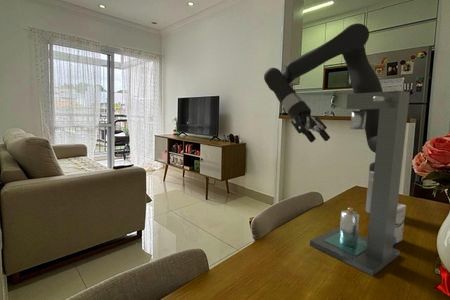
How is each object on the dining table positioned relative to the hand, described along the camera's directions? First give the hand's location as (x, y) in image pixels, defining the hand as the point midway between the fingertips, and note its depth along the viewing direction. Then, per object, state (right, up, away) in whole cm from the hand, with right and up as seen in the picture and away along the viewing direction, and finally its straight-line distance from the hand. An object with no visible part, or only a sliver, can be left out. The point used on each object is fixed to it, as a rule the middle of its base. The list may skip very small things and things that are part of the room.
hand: (321, 140), depth 86 cm
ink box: (+18, -32, -8) cm, 38 cm away
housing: (+3, -31, -13) cm, 34 cm away
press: (+3, -33, -14) cm, 36 cm away
